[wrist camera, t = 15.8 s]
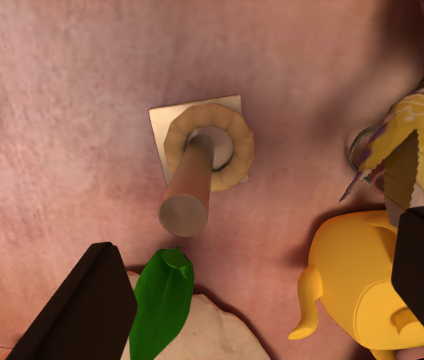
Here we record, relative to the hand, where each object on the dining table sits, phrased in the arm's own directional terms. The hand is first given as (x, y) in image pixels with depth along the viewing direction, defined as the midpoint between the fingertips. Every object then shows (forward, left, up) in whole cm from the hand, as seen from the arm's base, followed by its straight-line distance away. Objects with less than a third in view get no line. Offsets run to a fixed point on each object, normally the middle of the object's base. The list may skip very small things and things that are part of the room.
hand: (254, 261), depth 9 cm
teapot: (+15, +11, -17) cm, 25 cm away
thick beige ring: (0, -2, -15) cm, 15 cm away
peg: (0, -3, -17) cm, 17 cm away
